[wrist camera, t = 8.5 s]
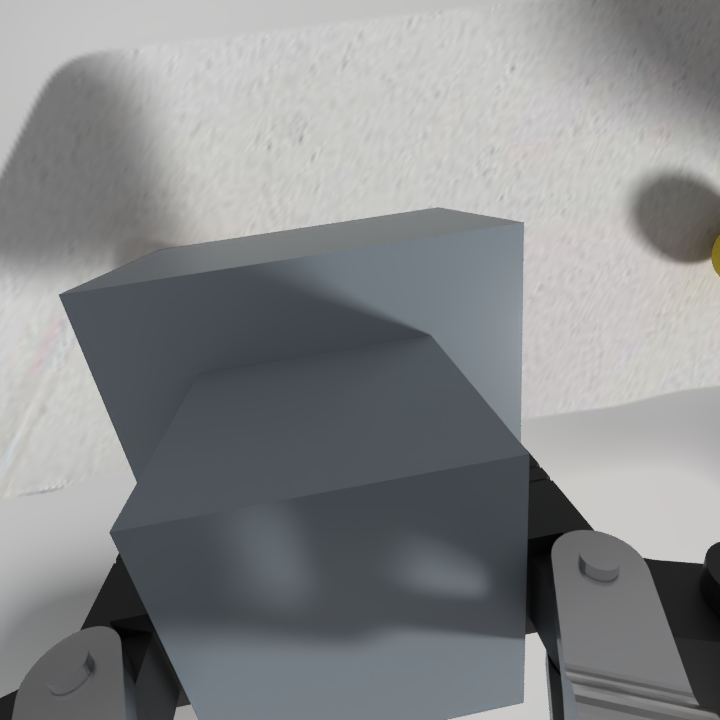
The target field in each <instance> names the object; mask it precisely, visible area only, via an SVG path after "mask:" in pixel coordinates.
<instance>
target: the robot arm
mask: <svg viewBox="0 0 720 720" xmlns="http://www.w3.org/2000/svg"><path fill="white" fill-rule="evenodd" d="M528 453H529V452H528ZM529 454H530V453H529ZM535 632H537V633H538V634H539V637H540V638H541V641H542V642H543V644H544V646H545V648H546V674H547V687H548V699H549V711H550V720H720V542H718V543H716V544H714V545H713V546H711V547H710V548H709V549H708V551H707V553H706V557H705V561H704V564H698V563H685V562H673V561H660V560H652V559H646V558H642V557H641V555H640V554H639V553H638V552H637V551H636V550H635V549H633V548H632V547H631V546H630V545H628V544H627V543H625V542H624V541H622V540H620V539H618V538H616V537H614V536H611V535H609V534H606V533H602V532H598V531H594V530H593V528H592V527H591V526H590V525H589V524H588V522H587V521H586V520H585V519H584V518H583V516H582V515H581V514H580V513H579V512H578V510H577V509H576V508H575V507H574V506H573V504H572V503H571V502H570V501H569V500H568V499H567V497H566V496H565V495H564V494H563V492H562V491H561V490H560V489H559V488H558V487H557V485H556V484H555V483H554V482H553V481H551V480H550V477H549V476H548V475H547V473H546V472H545V471H544V470H543V469H542V468H540V466H539V464H538V463H537V461H536V460H535V459H534V458H533V457H532V456H531V454H530V459H529V499H528V540H527V580H526V621H525V635H526V634H531V633H535ZM189 704H191V703H190V701H189V699H188V697H187V695H186V692H185V690H184V688H183V686H182V684H181V682H180V680H179V678H178V676H177V673H176V671H175V669H174V667H173V665H172V663H171V661H170V659H169V657H168V655H167V652H166V650H165V648H164V646H163V644H162V642H161V640H160V638H159V636H158V634H157V631H156V629H155V627H154V625H153V623H152V621H151V619H150V617H149V615H148V612H147V610H146V608H145V606H144V604H143V602H142V600H141V598H140V596H139V594H138V591H137V589H136V587H135V585H134V583H133V581H132V579H131V577H130V575H129V572H128V570H127V568H126V566H125V564H124V562H123V560H122V558H121V556H120V554H118V556H117V558H116V563H115V564H114V565H113V566H112V568H111V570H110V572H109V574H108V576H107V578H106V580H105V582H104V584H103V586H102V588H101V590H100V592H99V594H98V596H97V598H96V600H95V602H94V604H93V606H92V608H91V610H90V612H89V614H88V616H87V618H86V620H85V622H84V624H83V626H82V628H81V630H80V631H79V632H76V633H74V634H72V635H70V636H68V637H66V638H65V639H63V640H62V641H60V642H59V643H57V644H56V645H54V646H53V647H52V648H51V649H50V650H48V651H47V652H46V653H45V654H44V655H43V656H42V657H41V658H40V659H39V660H38V661H37V662H36V663H35V664H34V666H33V667H32V668H31V669H30V671H29V672H28V673H27V675H26V676H25V678H24V680H23V682H22V683H21V685H20V687H19V689H18V690H16V691H14V692H12V693H10V694H8V695H6V696H4V697H2V698H0V720H173V718H174V715H175V710H176V707H180V706H185V705H189Z"/></svg>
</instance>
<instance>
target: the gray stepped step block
mask: <svg viewBox="0 0 720 720" xmlns="http://www.w3.org/2000/svg"><path fill="white" fill-rule="evenodd" d="M523 241H524V223H523V222H518V221H512V220H506V219H501V218H495V217H489V216H484V215H478V214H472V213H467V212H461V211H455V210H450V209H444V208H431V209H425V210H418V211H412V212H405V213H398V214H392V215H385V216H379V217H372V218H365V219H359V220H352V221H345V222H339V223H332V224H326V225H319V226H312V227H306V228H299V229H293V230H286V231H279V232H273V233H266V234H260V235H253V236H246V237H240V238H233V239H227V240H220V241H213V242H207V243H200V244H194V245H187V246H180V247H174V248H167V249H160V250H157V251H155V252H153V253H151V254H149V255H146V256H144V257H142V258H140V259H137V260H135V261H133V262H131V263H128V264H126V265H124V266H122V267H120V268H117V269H115V270H113V271H111V272H108V273H106V274H104V275H102V276H99V277H97V278H95V279H93V280H90V281H88V282H86V283H84V284H82V285H79V286H77V287H75V288H73V289H70V290H68V291H66V292H64V293H61V294H59V296H60V299H61V301H62V304H63V306H64V308H65V311H66V313H67V316H68V318H69V320H70V323H71V325H72V328H73V330H74V332H75V335H76V337H77V340H78V342H79V344H80V347H81V349H82V352H83V354H84V356H85V359H86V361H87V364H88V366H89V368H90V371H91V373H92V376H93V378H94V380H95V383H96V385H97V388H98V390H99V392H100V395H101V397H102V400H103V402H104V404H105V407H106V409H107V412H108V414H109V416H110V419H111V421H112V423H113V426H114V428H115V431H116V433H117V435H118V438H119V440H120V443H121V445H122V447H123V450H124V452H125V455H126V457H127V459H128V462H129V464H130V467H131V469H132V471H133V474H134V476H135V478H136V481H137V484H136V486H135V488H134V490H133V491H132V493H131V495H130V497H129V499H128V500H127V502H126V504H125V506H124V507H123V509H122V511H121V513H120V514H119V516H118V518H117V520H116V522H115V523H114V525H113V527H112V529H111V531H110V535H111V537H112V539H113V541H114V543H115V545H116V547H117V549H118V551H119V554H120V556H121V558H122V560H123V562H124V564H125V566H126V568H127V570H128V572H129V575H130V577H131V579H132V581H133V583H134V585H135V587H136V589H137V591H138V594H139V596H140V598H141V600H142V602H143V604H144V606H145V608H146V610H147V612H148V615H149V617H150V619H151V621H152V623H153V625H154V627H155V629H156V631H157V634H158V636H159V638H160V640H161V642H162V644H163V646H164V648H165V650H166V652H167V655H168V657H169V659H170V661H171V663H172V665H173V667H174V669H175V671H176V673H177V676H178V678H179V680H180V682H181V684H182V686H183V688H184V690H185V692H186V695H187V697H188V699H189V701H190V703H191V705H192V707H193V709H194V711H195V713H196V716H197V718H198V720H447V719H452V718H456V717H461V716H465V715H470V714H474V713H479V712H483V711H488V710H492V709H497V708H502V707H506V706H510V705H515V704H520V703H523V701H524V661H525V621H526V580H527V540H528V499H529V459H530V454H529V453H528V451H527V450H526V449H525V448H524V447H523V445H522V444H521V378H522V310H523Z"/></svg>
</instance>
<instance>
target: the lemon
mask: <svg viewBox="0 0 720 720" xmlns="http://www.w3.org/2000/svg"><path fill="white" fill-rule="evenodd" d="M711 258H712V264H713V267H714V269H715V271H716V272H717V274H718V275H719V276H720V235H719V236H718V238H717V239H716V241H715V243H714V245H713V248H712V253H711Z"/></svg>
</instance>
